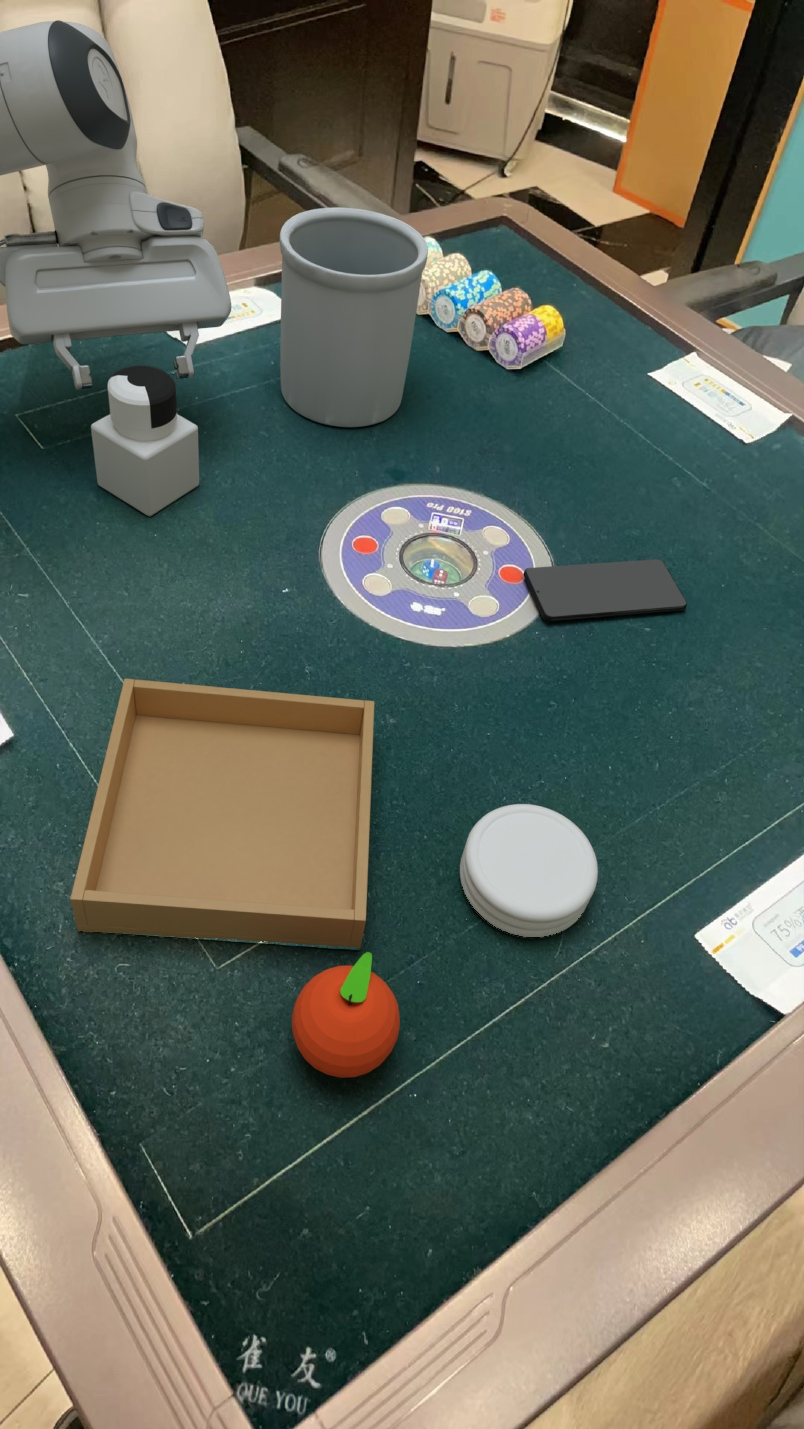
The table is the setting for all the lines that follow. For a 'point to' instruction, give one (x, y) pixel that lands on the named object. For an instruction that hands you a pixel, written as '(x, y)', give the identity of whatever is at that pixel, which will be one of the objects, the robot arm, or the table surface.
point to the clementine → (346, 1020)
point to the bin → (230, 817)
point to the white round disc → (528, 870)
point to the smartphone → (604, 589)
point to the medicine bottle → (145, 441)
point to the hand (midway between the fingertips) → (135, 382)
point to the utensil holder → (347, 313)
